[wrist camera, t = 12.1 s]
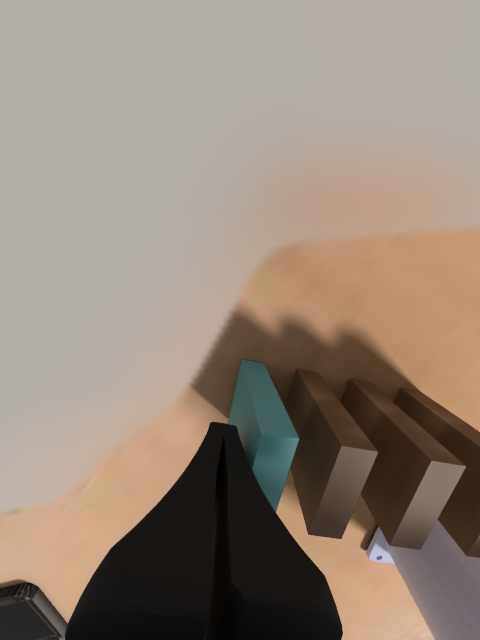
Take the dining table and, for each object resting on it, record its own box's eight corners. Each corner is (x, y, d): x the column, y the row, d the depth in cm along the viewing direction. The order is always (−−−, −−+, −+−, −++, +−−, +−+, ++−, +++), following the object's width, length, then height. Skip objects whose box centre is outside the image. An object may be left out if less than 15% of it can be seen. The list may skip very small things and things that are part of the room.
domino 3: (420, 391, 16) (549, 479, 10) (396, 446, 18) (496, 560, 11) (400, 388, 16) (517, 474, 10) (377, 443, 18) (466, 556, 11)
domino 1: (317, 372, 16) (378, 451, 9) (299, 430, 17) (341, 539, 10) (296, 368, 16) (341, 445, 9) (279, 427, 17) (308, 534, 10)
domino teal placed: (263, 362, 16) (299, 438, 9) (248, 422, 17) (270, 529, 10) (241, 359, 15) (261, 434, 9) (228, 420, 17) (236, 527, 10)
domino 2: (370, 382, 16) (466, 466, 9) (348, 438, 17) (420, 549, 11) (349, 378, 16) (431, 460, 9) (329, 435, 17) (389, 545, 10)
